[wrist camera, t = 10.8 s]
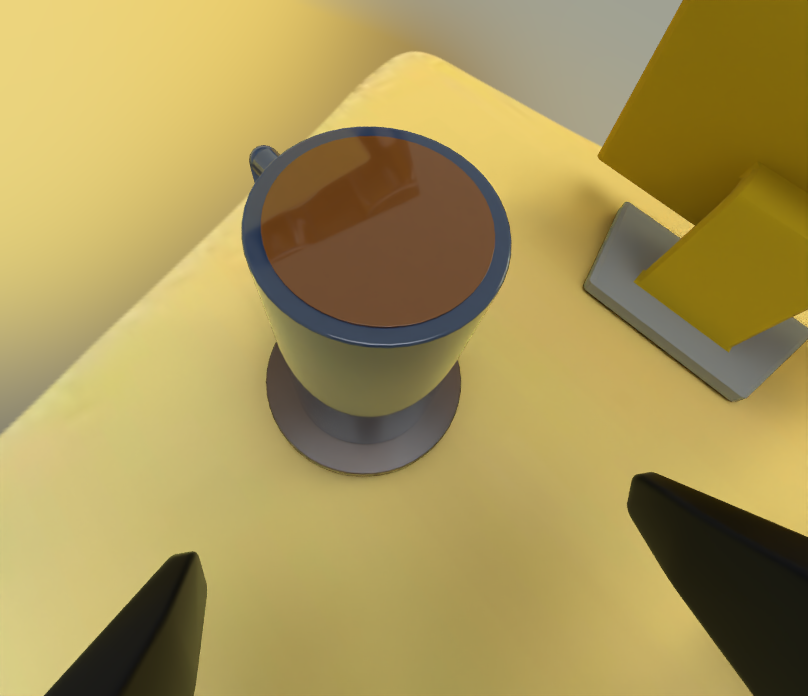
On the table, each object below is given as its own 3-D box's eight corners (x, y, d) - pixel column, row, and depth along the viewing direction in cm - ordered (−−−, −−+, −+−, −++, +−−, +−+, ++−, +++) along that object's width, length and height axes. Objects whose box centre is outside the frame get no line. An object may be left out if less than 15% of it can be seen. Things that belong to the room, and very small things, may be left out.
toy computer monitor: (847, 366, 27) (1402, 176, 13) (805, 460, 24) (1457, 352, 10) (584, 180, 31) (788, -128, 17) (521, 243, 28) (701, -63, 14)
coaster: (397, 517, 21) (399, 516, 20) (227, 407, 22) (223, 403, 21) (488, 354, 25) (492, 348, 24) (339, 268, 26) (339, 260, 25)
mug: (462, 383, 23) (565, 243, 12) (356, 476, 21) (363, 407, 10) (341, 254, 25) (334, 37, 14) (232, 324, 23) (123, 128, 12)
